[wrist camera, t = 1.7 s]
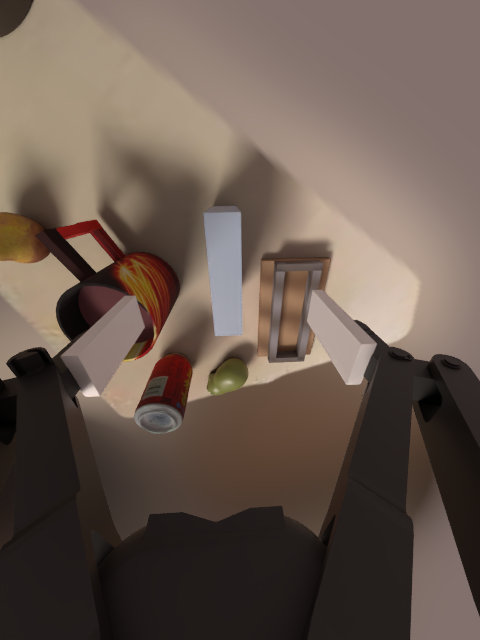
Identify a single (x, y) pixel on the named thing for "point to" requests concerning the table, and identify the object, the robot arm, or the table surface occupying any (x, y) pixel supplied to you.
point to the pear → (228, 377)
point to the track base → (288, 306)
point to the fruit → (20, 239)
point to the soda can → (165, 395)
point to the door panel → (225, 267)
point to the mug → (111, 285)
